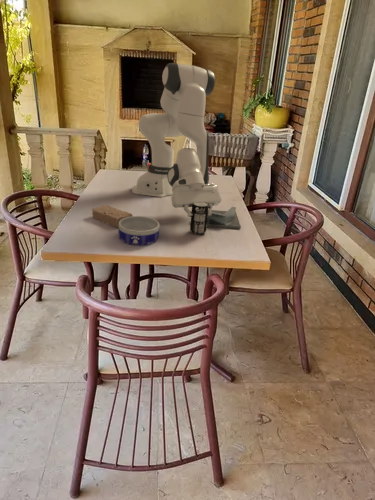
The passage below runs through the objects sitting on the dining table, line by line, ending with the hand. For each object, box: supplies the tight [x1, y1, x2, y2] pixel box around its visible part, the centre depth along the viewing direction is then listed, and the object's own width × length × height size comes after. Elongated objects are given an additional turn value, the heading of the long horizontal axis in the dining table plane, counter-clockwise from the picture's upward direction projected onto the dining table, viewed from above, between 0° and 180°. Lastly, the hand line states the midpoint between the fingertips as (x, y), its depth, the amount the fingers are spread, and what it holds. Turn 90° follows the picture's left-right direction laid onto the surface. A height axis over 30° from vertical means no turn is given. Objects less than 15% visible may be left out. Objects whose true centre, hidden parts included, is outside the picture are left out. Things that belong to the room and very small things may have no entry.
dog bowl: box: [118, 215, 161, 247], centre depth 143 cm, size 15×15×6 cm
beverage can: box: [189, 202, 209, 235], centre depth 150 cm, size 7×7×12 cm
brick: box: [91, 204, 133, 228], centre depth 157 cm, size 17×8×5 cm, turn 53°
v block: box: [207, 206, 242, 230], centre depth 166 cm, size 18×20×5 cm
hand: (200, 215), depth 149 cm, fingers closed on beverage can, 7 cm apart
